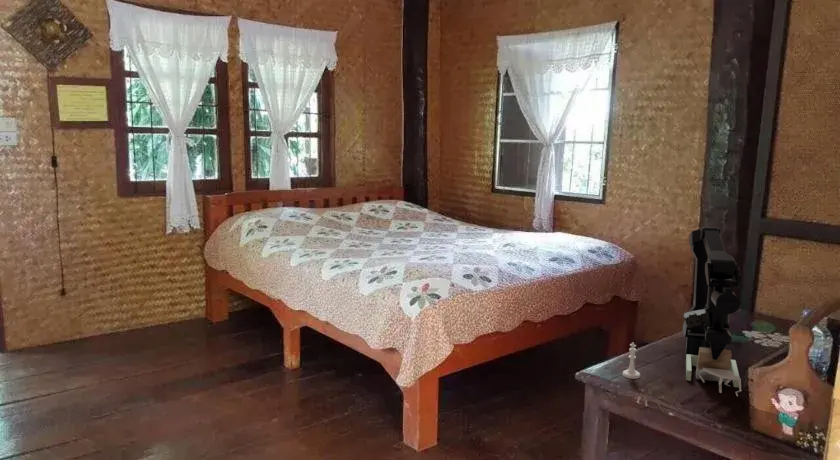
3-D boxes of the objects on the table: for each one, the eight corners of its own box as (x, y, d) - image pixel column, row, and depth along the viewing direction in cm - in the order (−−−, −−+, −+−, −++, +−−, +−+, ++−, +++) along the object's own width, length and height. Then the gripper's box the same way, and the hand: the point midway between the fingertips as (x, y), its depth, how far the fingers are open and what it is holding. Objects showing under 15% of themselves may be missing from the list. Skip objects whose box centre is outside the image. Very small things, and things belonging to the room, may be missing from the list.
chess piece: (626, 370, 185) (627, 338, 184) (642, 374, 182) (644, 342, 180) (619, 375, 181) (621, 343, 180) (636, 380, 178) (638, 346, 177)
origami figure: (745, 387, 173) (746, 371, 172) (740, 398, 166) (741, 381, 165) (698, 378, 180) (699, 362, 179) (692, 388, 173) (693, 371, 172)
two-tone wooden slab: (696, 378, 179) (699, 352, 173) (695, 373, 180) (699, 347, 175) (726, 382, 176) (731, 355, 171) (726, 377, 178) (730, 350, 172)
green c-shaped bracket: (686, 380, 178) (686, 370, 178) (685, 363, 190) (686, 354, 190) (738, 387, 173) (739, 377, 172) (734, 369, 185) (735, 360, 185)
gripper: (686, 292, 182) (682, 342, 185) (687, 309, 165) (683, 365, 168) (728, 295, 178) (724, 347, 181) (733, 314, 161) (729, 371, 164)
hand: (714, 357), depth 173 cm, fingers closed on two-tone wooden slab, 3 cm apart
